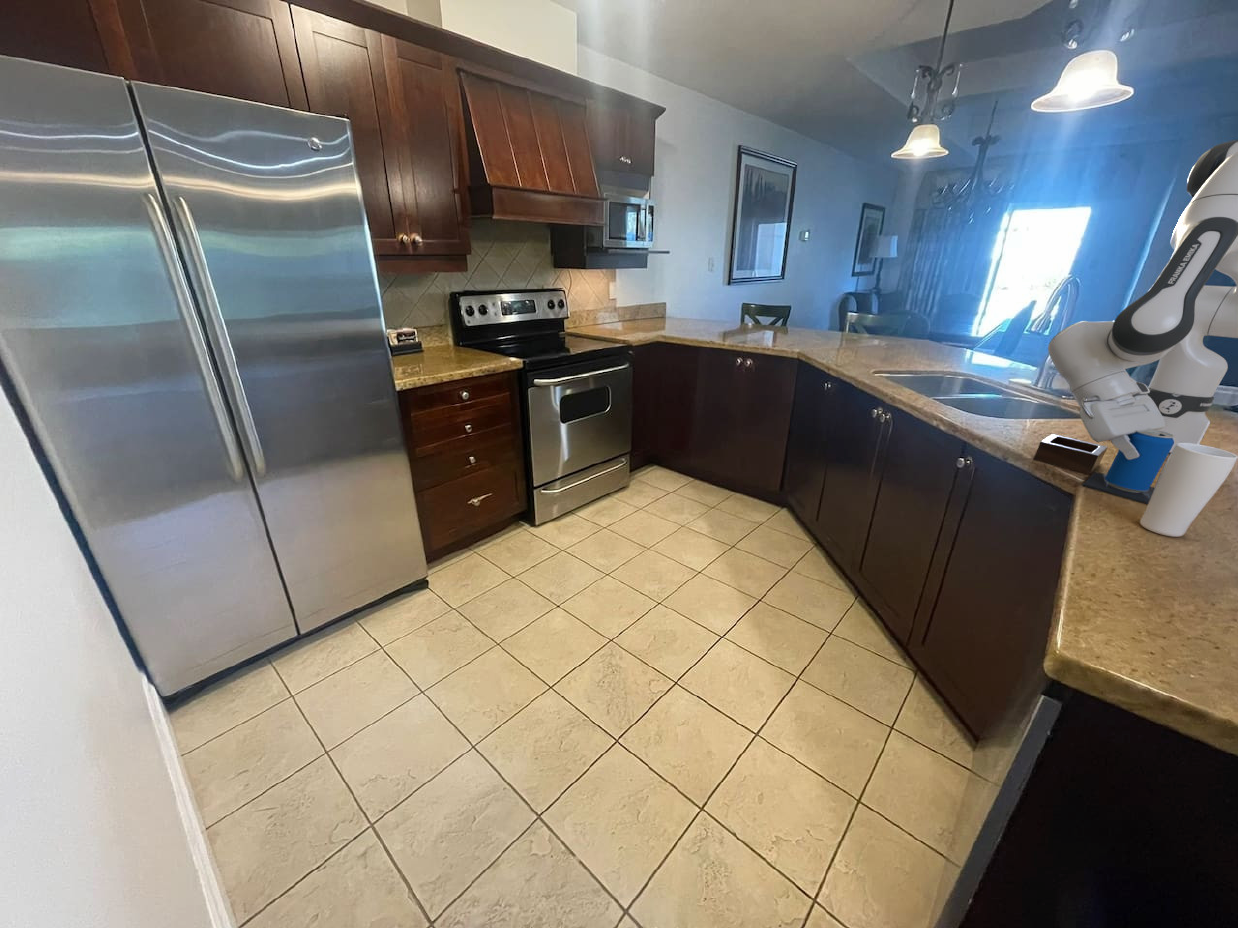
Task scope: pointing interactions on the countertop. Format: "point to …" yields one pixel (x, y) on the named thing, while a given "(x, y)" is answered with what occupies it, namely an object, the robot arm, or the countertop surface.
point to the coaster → (1101, 484)
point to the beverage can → (1140, 461)
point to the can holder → (1070, 453)
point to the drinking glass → (1186, 487)
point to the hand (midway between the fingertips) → (1145, 456)
